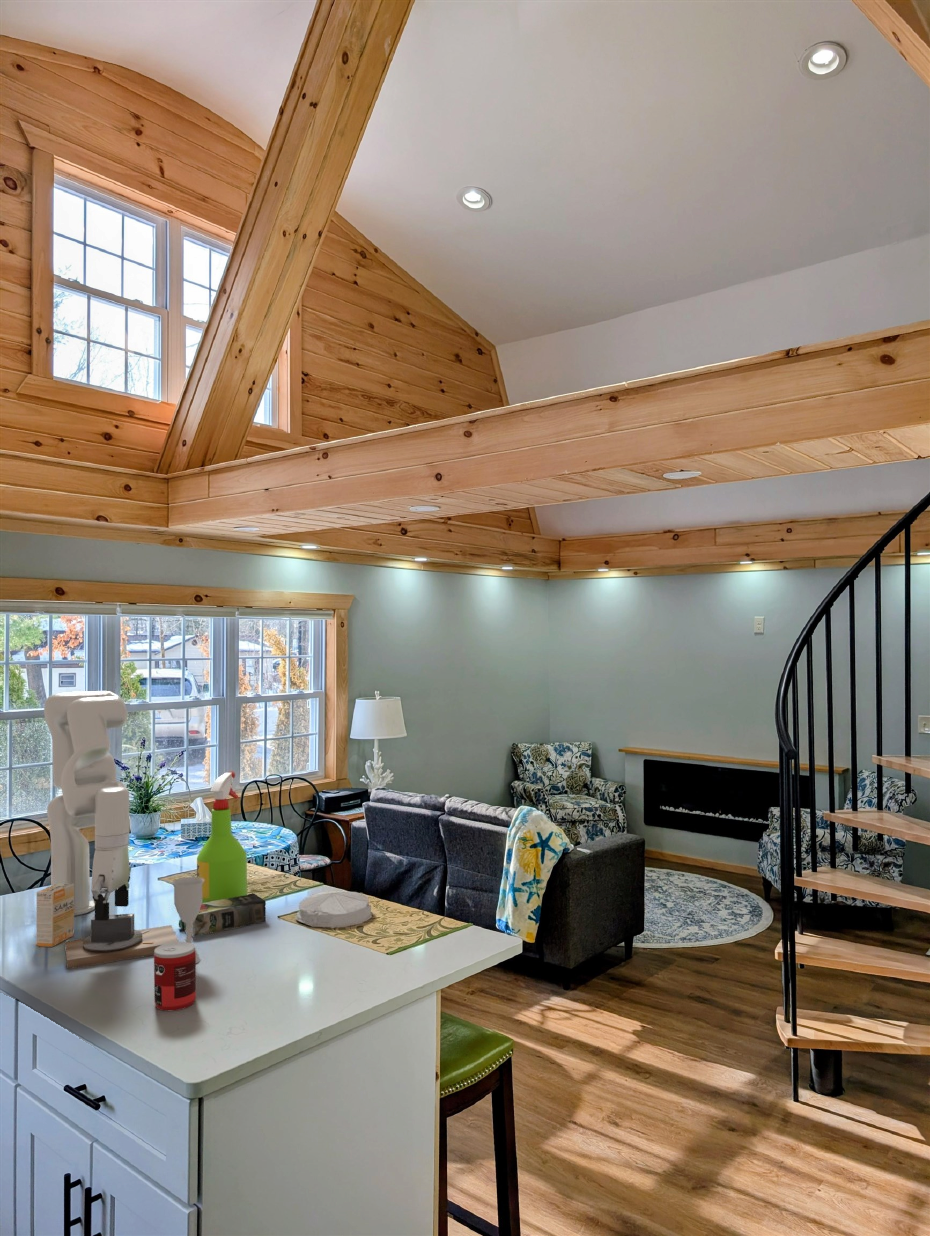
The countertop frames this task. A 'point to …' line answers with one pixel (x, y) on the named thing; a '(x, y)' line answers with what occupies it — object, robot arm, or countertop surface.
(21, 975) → the countertop surface
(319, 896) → the white round cake
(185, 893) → the chalice
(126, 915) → the dial
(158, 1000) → the canned food
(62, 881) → the robot arm
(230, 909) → the juice carton
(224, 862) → the spray bottle
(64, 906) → the supplement box
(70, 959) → the dial panel
